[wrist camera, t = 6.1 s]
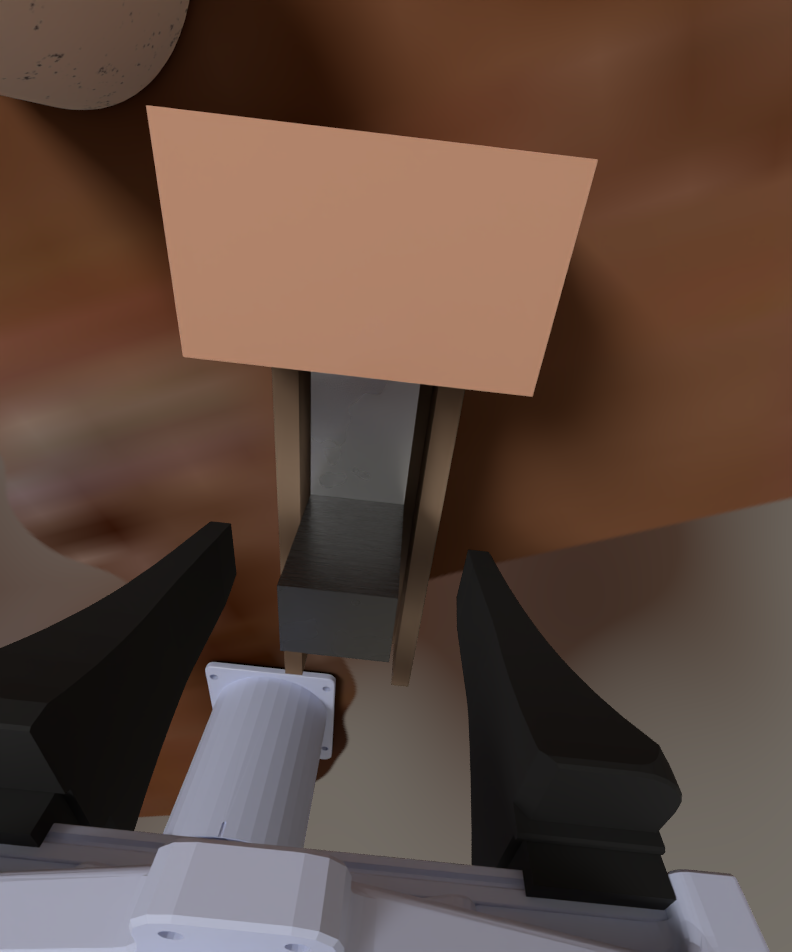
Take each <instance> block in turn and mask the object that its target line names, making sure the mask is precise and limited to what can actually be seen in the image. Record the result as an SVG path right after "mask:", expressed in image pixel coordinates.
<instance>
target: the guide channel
mask: <svg viewBox="0 0 792 952" xmlns="http://www.w3.org/2000/svg"><path fill="white" fill-rule="evenodd" d="M272 386H273V409H274V431H275V454H276V476H277V499H278V522H279V544H280V567H281V574H282V571H283V568H284V566H285V563H286V560H287V557H288V555H289V552H290V549H291V546H292V544H293V541H294V538H295V536H296V533H297V530H298V527H299V525H300V522H301V519H302V516H303V514H304V511H305V508H306V506H307V503H308V500H309V497H310V495H311V371H303V370H294V369H285V368H277V367H272ZM464 393H465V389H460V388H451V387H443V386H434V385H425V384H420V389H419V397H418V404H417V411H416V419H415V426H414V434H413V441H412V448H411V456H410V463H409V470H408V478H407V485H406V493H405V500H404V511H403V528H402V544H401V561H400V578H399V594H398V604H397V611H396V617H395V624H394V631H393V638H392V644H394V651H393V668H392V683H391V685H398V686H408V685H409V679H410V675H411V669H412V665H413V659H414V654H415V649H416V643H417V638H418V633H419V628H420V623H421V617H422V612H423V607H424V602H425V597H426V591H427V586H428V581H429V576H430V570H431V565H432V560H433V555H434V549H435V544H436V539H437V534H438V529H439V523H440V518H441V513H442V508H443V502H444V497H445V492H446V487H447V481H448V476H449V471H450V466H451V461H452V455H453V450H454V445H455V440H456V434H457V429H458V424H459V419H460V413H461V408H462V403H463V398H464ZM307 654H308V653H299V652H289V651H284V658H285V673H286V674H295V675H302V674H303V670H304V666H305V662H306V658H307Z"/></svg>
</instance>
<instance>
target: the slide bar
mask: <svg viewBox="0 0 792 952" xmlns="http://www.w3.org/2000/svg"><path fill="white" fill-rule="evenodd" d="M419 389H420V384H416V383H408V382H399V381H390V380H381V379H373V378H364V377H355V376H346V375H338V374H329V373H320V372H311V495H310V497H309V500H308V503H307V506H306V508H305V511H304V514H303V516H302V519H301V522H300V525H299V527H298V530H297V533H296V536H295V538H294V541H293V544H292V546H291V549H290V552H289V555H288V557H287V560H286V563H285V566H284V568H283V571H282V574H281V576H280V579H279V582H278V585H277V592H278V612H279V631H280V651H289V652H299V653H308V654H317V655H327V656H336V657H345V658H355V659H364V660H374V661H383V662H389V658H390V651H391V644H392V638H393V631H394V624H395V617H396V611H397V604H398V594H399V578H400V561H401V544H402V528H403V511H404V500H405V493H406V485H407V478H408V470H409V463H410V456H411V448H412V441H413V434H414V426H415V419H416V411H417V404H418V397H419Z"/></svg>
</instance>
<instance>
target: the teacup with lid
mask: <svg viewBox="0 0 792 952" xmlns="http://www.w3.org/2000/svg"><path fill="white" fill-rule="evenodd" d="M188 5H189V0H0V95H2V96H7V97H11V98H16V99H21V100H25V101H30V102H34V103H39V104H43V105H48V106H52V107H57V108H63V109H70V110H92V109H101V108H105V107H109V106H113V105H116V104H118V103H121V102H123V101H125V100H127V99H129V98H131V97H132V96H134V95H136V94H137V93H138V92H140V91H141V90H142V89H143V88H145V87H146V86H147V85H148V84H149V83H150V82H151V81H152V80H153V79H154V78H155V77H156V76H157V74H158V73H159V72H160V70H161V69H162V68H163V66H164V65H165V64H166V62H167V60H168V59H169V57H170V55H171V53H172V52H173V50H174V48H175V45H176V43H177V41H178V38H179V36H180V33H181V30H182V27H183V24H184V21H185V18H186V14H187V9H188Z"/></svg>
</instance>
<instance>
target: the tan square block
mask: <svg viewBox="0 0 792 952" xmlns="http://www.w3.org/2000/svg"><path fill="white" fill-rule="evenodd" d="M146 109H147V115H148V122H149V129H150V136H151V143H152V149H153V156H154V163H155V170H156V176H157V183H158V190H159V197H160V203H161V210H162V217H163V224H164V231H165V237H166V244H167V251H168V258H169V264H170V271H171V278H172V285H173V291H174V298H175V305H176V312H177V319H178V325H179V332H180V339H181V346H182V352H183V357H189V358H198V359H207V360H215V361H224V362H233V363H242V364H250V365H259V366H268V367H277V368H285V369H294V370H303V371H311V372H320V373H329V374H338V375H346V376H355V377H364V378H373V379H381V380H390V381H399V382H408V383H416V384H425V385H434V386H443V387H451V388H460V389H469V390H478V391H486V392H495V393H504V394H513V395H521V396H530V397H533V393H534V390H535V386H536V382H537V379H538V375H539V371H540V368H541V364H542V361H543V357H544V353H545V350H546V346H547V343H548V339H549V335H550V332H551V328H552V324H553V321H554V317H555V314H556V310H557V306H558V303H559V299H560V295H561V292H562V288H563V285H564V281H565V277H566V274H567V270H568V266H569V263H570V259H571V256H572V252H573V248H574V245H575V241H576V238H577V234H578V230H579V227H580V223H581V219H582V216H583V212H584V209H585V205H586V201H587V198H588V194H589V190H590V187H591V183H592V180H593V176H594V172H595V169H596V165H597V161H598V160H597V159H588V158H580V157H572V156H564V155H555V154H547V153H539V152H530V151H522V150H514V149H506V148H497V147H489V146H481V145H472V144H464V143H456V142H447V141H439V140H431V139H423V138H414V137H406V136H398V135H389V134H381V133H373V132H365V131H356V130H348V129H340V128H331V127H323V126H315V125H306V124H298V123H290V122H282V121H273V120H265V119H257V118H248V117H240V116H232V115H223V114H215V113H207V112H199V111H190V110H182V109H174V108H165V107H157V106H149V105H146Z"/></svg>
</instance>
